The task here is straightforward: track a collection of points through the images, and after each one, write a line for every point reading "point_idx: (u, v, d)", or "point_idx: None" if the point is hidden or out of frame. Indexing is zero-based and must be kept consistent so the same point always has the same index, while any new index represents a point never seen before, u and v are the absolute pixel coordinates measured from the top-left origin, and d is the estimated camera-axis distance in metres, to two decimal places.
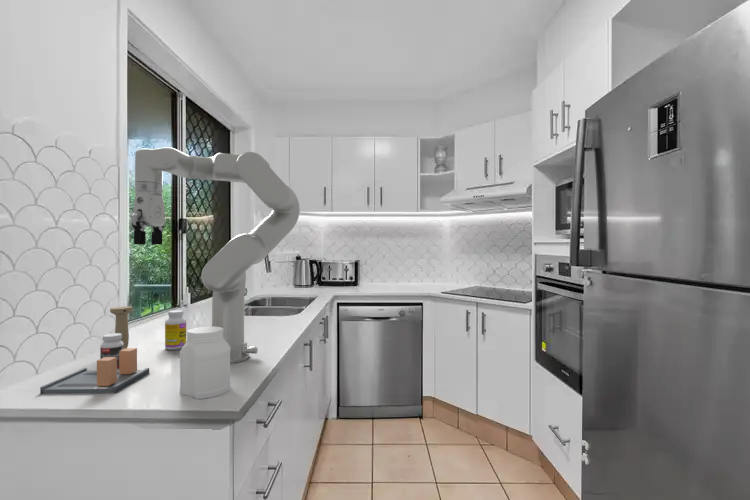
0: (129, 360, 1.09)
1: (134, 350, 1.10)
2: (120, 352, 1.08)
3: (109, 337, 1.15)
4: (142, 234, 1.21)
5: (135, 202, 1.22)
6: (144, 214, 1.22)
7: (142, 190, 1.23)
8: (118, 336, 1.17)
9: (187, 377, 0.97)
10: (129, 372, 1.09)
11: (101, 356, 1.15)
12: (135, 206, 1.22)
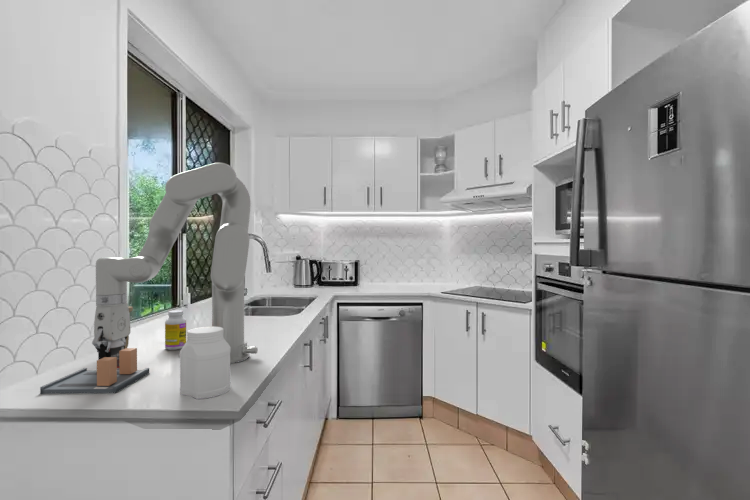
0: (129, 360, 1.09)
1: (134, 350, 1.10)
2: (120, 352, 1.08)
3: None
4: (107, 355, 1.14)
5: (95, 318, 1.13)
6: (105, 331, 1.12)
7: (103, 304, 1.14)
8: None
9: (187, 377, 0.97)
10: (129, 372, 1.09)
11: None
12: (95, 323, 1.12)
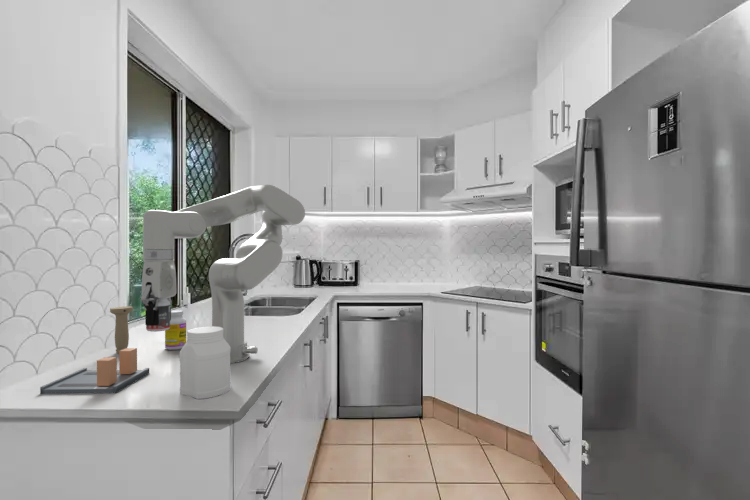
0: (129, 360, 1.09)
1: (134, 350, 1.10)
2: (120, 352, 1.08)
3: None
4: (155, 314, 1.06)
5: (143, 274, 1.05)
6: (154, 288, 1.05)
7: (151, 259, 1.06)
8: None
9: (187, 377, 0.97)
10: (129, 372, 1.09)
11: None
12: (143, 278, 1.05)
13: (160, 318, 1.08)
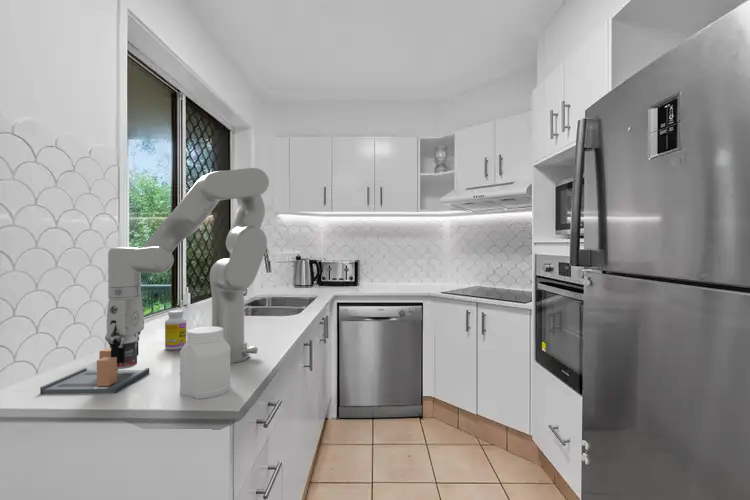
0: None
1: None
2: (100, 352, 1.08)
3: None
4: (120, 351, 1.06)
5: (108, 312, 1.05)
6: (119, 326, 1.05)
7: (116, 297, 1.06)
8: None
9: (187, 377, 0.97)
10: None
11: None
12: (108, 317, 1.05)
13: (126, 355, 1.08)
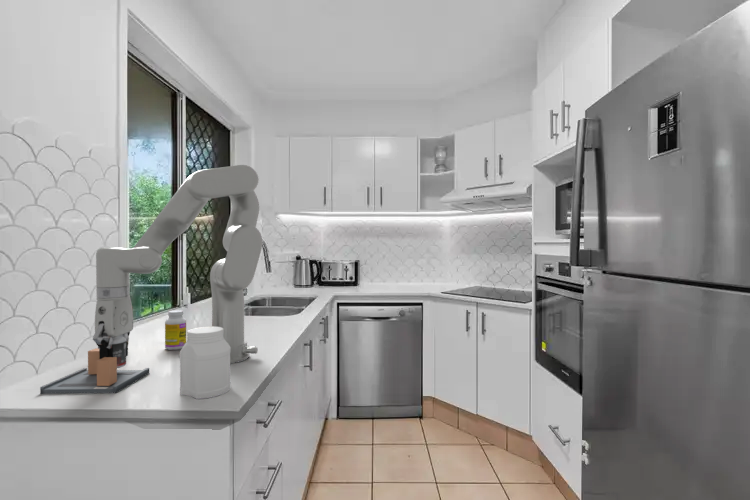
0: None
1: None
2: (89, 352, 1.08)
3: None
4: (109, 352, 1.06)
5: (96, 312, 1.05)
6: (107, 327, 1.05)
7: (104, 298, 1.06)
8: None
9: (187, 377, 0.97)
10: None
11: None
12: (96, 317, 1.05)
13: (115, 356, 1.08)
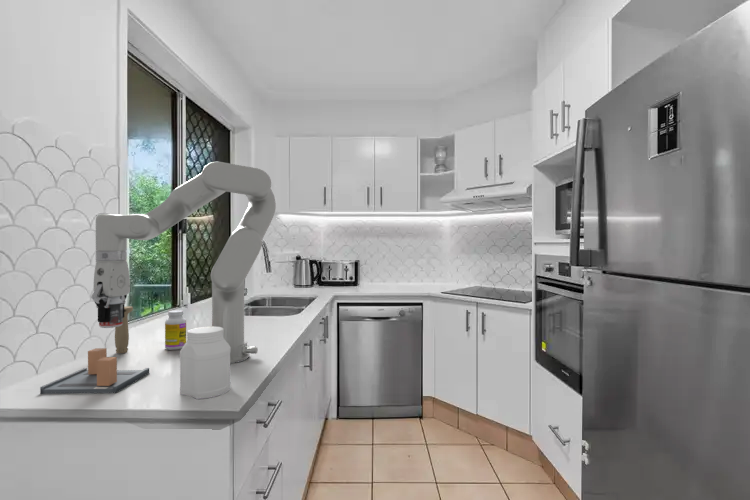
0: None
1: (103, 350, 1.10)
2: (89, 352, 1.08)
3: None
4: (106, 311, 1.14)
5: (95, 274, 1.12)
6: (105, 287, 1.12)
7: (103, 260, 1.13)
8: None
9: (187, 377, 0.97)
10: None
11: None
12: (95, 278, 1.12)
13: (112, 315, 1.15)
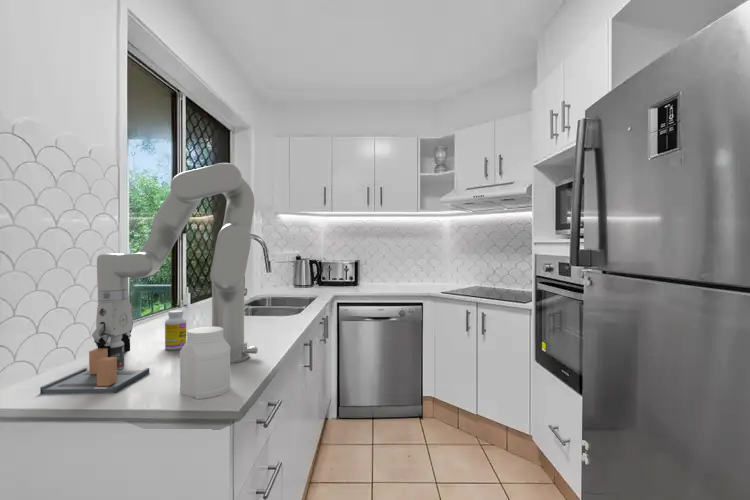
0: None
1: (104, 350, 1.10)
2: (90, 352, 1.08)
3: None
4: None
5: (97, 314, 1.13)
6: (107, 327, 1.13)
7: (105, 300, 1.14)
8: (118, 336, 1.17)
9: (187, 377, 0.97)
10: None
11: None
12: (97, 318, 1.13)
13: None
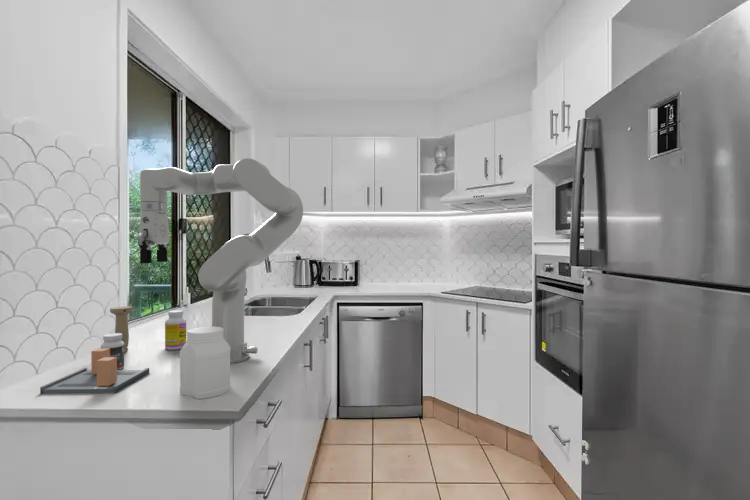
0: None
1: (107, 350, 1.10)
2: (92, 352, 1.08)
3: (110, 337, 1.15)
4: (148, 253, 1.24)
5: (141, 222, 1.24)
6: (150, 233, 1.24)
7: (147, 210, 1.25)
8: (119, 336, 1.17)
9: (187, 377, 0.97)
10: None
11: None
12: (141, 226, 1.24)
13: None
